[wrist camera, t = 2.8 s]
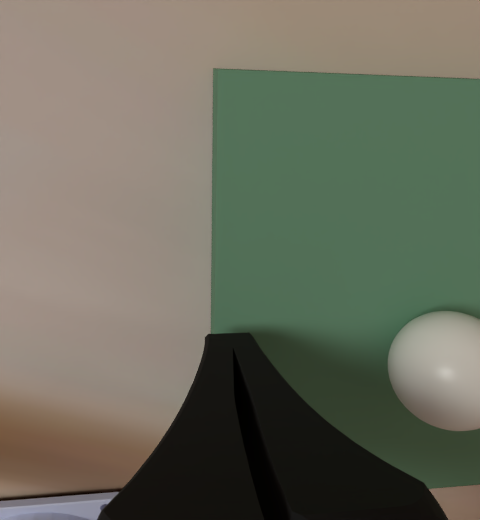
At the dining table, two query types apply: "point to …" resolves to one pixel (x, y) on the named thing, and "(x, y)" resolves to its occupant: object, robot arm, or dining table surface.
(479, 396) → the ball
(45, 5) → the dining table surface
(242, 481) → the robot arm
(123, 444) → the dining table surface
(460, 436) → the putting deck
